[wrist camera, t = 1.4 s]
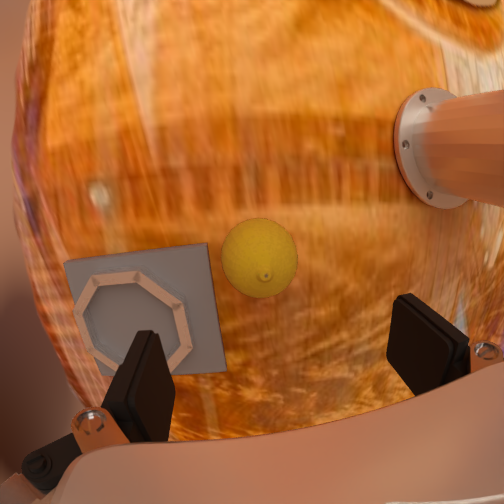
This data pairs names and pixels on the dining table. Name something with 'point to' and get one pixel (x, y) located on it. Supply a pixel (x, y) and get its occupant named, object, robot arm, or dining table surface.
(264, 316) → the dining table surface
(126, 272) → the ring
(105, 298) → the board
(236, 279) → the lemon
